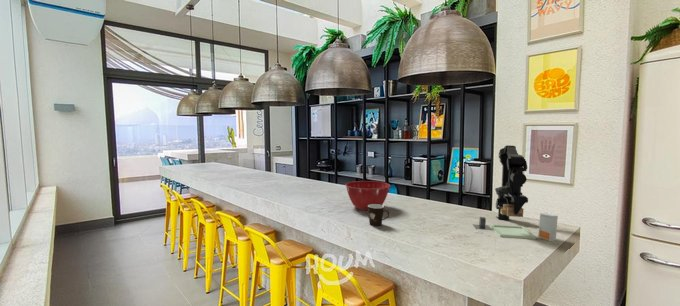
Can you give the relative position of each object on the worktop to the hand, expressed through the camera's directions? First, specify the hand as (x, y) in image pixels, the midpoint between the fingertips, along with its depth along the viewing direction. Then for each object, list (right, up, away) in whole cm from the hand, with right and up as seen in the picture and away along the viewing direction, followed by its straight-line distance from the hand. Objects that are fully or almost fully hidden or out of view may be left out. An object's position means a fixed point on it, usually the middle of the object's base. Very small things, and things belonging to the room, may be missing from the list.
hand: (513, 212), depth 160 cm
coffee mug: (-66, -9, +12) cm, 68 cm away
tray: (0, -11, +1) cm, 11 cm away
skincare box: (+13, -12, -6) cm, 18 cm away
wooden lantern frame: (0, -1, 0) cm, 1 cm away
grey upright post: (-11, -10, +9) cm, 17 cm away
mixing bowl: (-68, -6, +47) cm, 83 cm away
